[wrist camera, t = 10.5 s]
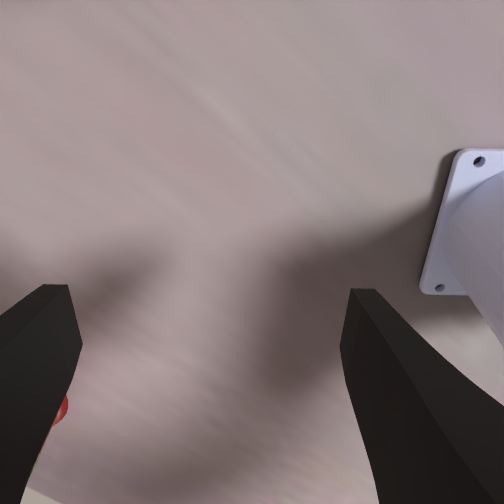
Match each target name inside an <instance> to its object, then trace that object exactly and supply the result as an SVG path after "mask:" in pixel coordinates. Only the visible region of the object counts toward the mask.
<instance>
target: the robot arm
mask: <svg viewBox="0 0 504 504" xmlns="http://www.w3.org/2000/svg"><path fill="white" fill-rule="evenodd" d="M479 156H482V157H481V161H480V162H479V163H477V164H474V165H473V161H474V160H475V159H476V158H477V157H479ZM439 284H442V285H441V286H440V287H436V286H437V285H439ZM419 287H420V289H421V291H422V293H424V294H427V295H468V296H469V297H470V299H471V300H472V302H473V303H474V305H475V306H476V308H477V309H478V311H479V312H480V313H481V315H482V316H483V318H484V319H485V321H486V322H487V324H488V325H489V327H490V328H491V330H492V331H493V333H494V334H495V336H496V337H497V339H498V340H499V341H500V343H501V344H502V346H503V347H504V149H482V148H467V149H463V150H461V151H459V152H458V153H457V154H456V155H455V157H454V160H453V163H452V167H451V171H450V174H449V178H448V182H447V185H446V189H445V192H444V196H443V200H442V203H441V207H440V210H439V214H438V218H437V221H436V225H435V229H434V232H433V236H432V239H431V243H430V247H429V250H428V254H427V257H426V261H425V265H424V268H423V272H422V276H421V279H420V283H419ZM82 345H83V343H82V339H81V335H80V331H79V327H78V324H77V320H76V316H75V312H74V308H73V304H72V300H71V296H70V292H69V288H68V285H53V284H43V285H42V286H40V287H39V288H37V289H36V290H34V291H33V292H31V293H30V294H29V295H27V296H26V297H25V298H23V299H22V300H21V301H19V302H18V303H17V304H15V305H14V306H13V307H11V308H10V309H9V310H7V311H6V312H5V313H3V314H2V315H1V316H0V504H20V502H21V499H22V496H23V493H24V490H25V487H26V484H27V482H28V479H29V477H30V474H31V472H32V469H33V467H34V464H35V462H36V460H37V458H38V455H39V453H40V451H41V449H42V447H43V444H44V442H45V440H46V438H47V435H48V433H49V431H50V429H51V427H52V424H53V422H54V420H55V418H56V416H57V413H58V411H59V409H60V407H61V404H62V402H63V400H64V398H65V395H66V393H67V391H68V388H69V386H70V384H71V381H72V379H73V376H74V372H75V369H76V366H77V363H78V359H79V355H80V352H81V348H82ZM340 352H341V358H342V365H343V370H344V376H345V381H346V385H347V389H348V392H349V395H350V399H351V402H352V406H353V409H354V412H355V416H356V419H357V422H358V425H359V429H360V432H361V435H362V439H363V442H364V445H365V449H366V452H367V455H368V458H369V462H370V465H371V469H372V473H373V477H374V481H375V485H376V490H377V495H378V500H379V504H504V406H503V405H502V404H500V403H499V402H498V401H496V400H495V399H494V398H492V397H491V396H490V395H488V394H487V393H486V392H485V391H483V390H482V389H481V388H479V387H478V386H477V385H476V384H474V383H473V382H472V381H471V380H469V379H468V378H467V377H466V376H465V375H463V374H462V373H461V372H460V371H459V370H458V369H456V368H455V367H454V366H453V365H452V364H451V363H450V362H448V361H447V360H446V359H445V358H444V357H443V356H442V355H441V354H439V353H438V352H437V351H436V350H435V349H434V348H433V347H432V346H431V345H430V344H429V343H428V342H427V341H426V340H425V339H423V338H422V337H421V336H420V335H419V334H418V333H417V332H416V331H415V330H414V329H413V328H412V327H411V326H410V325H409V324H408V323H407V322H406V321H405V320H404V319H403V318H402V317H401V316H400V315H399V313H398V312H397V311H396V310H395V309H394V308H393V307H392V306H391V305H390V304H389V303H388V302H387V301H386V300H385V299H384V298H383V297H382V296H381V295H380V294H379V293H378V292H377V291H376V290H375V289H351V291H350V296H349V301H348V306H347V311H346V316H345V321H344V327H343V332H342V337H341V342H340Z"/></svg>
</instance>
